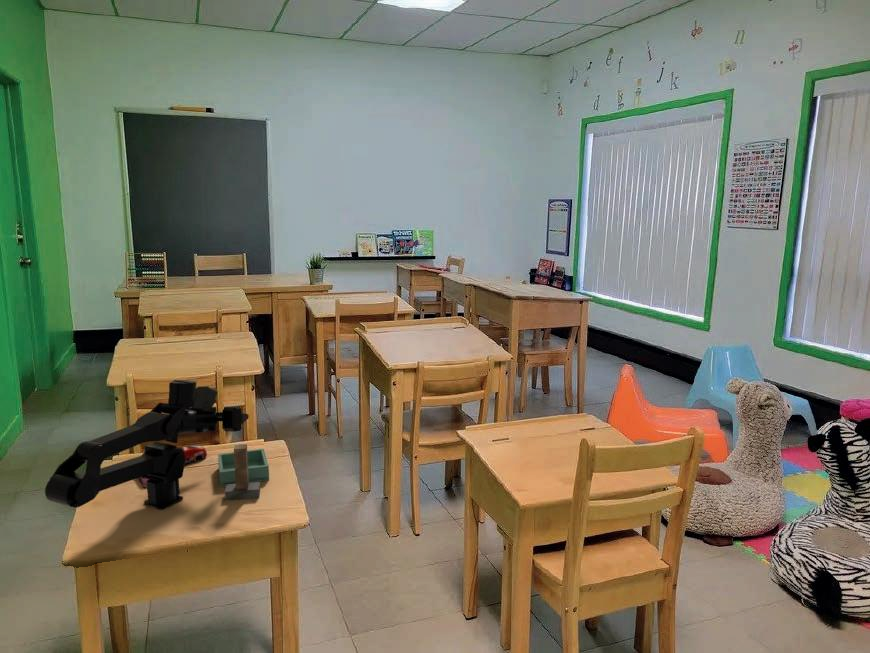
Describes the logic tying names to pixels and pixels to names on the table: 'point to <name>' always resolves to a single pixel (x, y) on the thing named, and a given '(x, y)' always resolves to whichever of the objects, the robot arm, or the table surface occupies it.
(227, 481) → the box
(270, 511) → the table surface
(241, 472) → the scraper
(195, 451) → the race car
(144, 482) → the eraser
